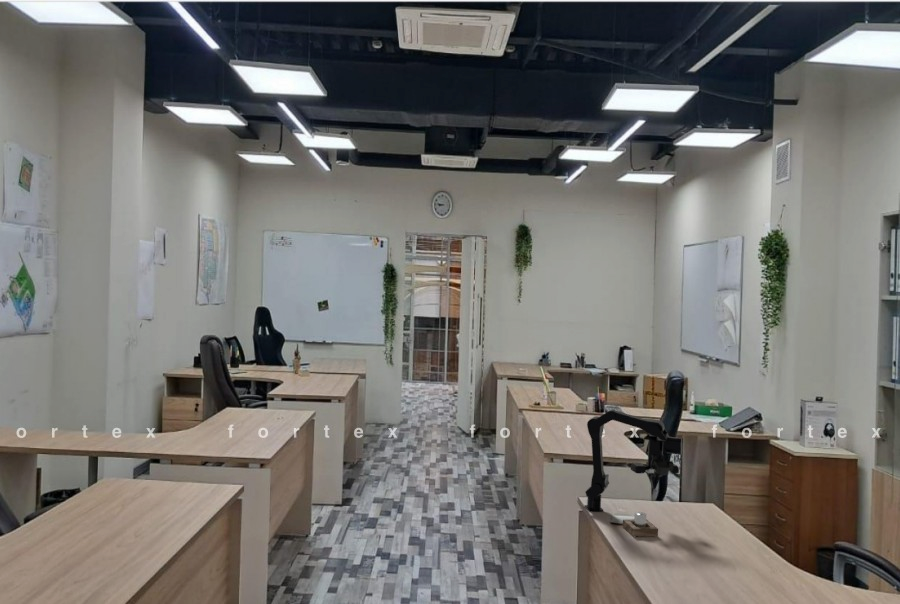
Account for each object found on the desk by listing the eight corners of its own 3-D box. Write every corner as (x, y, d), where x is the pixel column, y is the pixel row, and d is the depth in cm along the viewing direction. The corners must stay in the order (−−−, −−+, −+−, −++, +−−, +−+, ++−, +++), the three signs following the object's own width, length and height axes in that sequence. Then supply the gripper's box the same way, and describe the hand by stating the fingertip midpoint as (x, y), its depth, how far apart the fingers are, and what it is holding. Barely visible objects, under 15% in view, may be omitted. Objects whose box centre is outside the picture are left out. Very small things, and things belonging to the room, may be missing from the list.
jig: (622, 527, 252) (622, 519, 251) (646, 526, 253) (646, 519, 253) (633, 536, 242) (633, 529, 242) (657, 536, 243) (658, 528, 243)
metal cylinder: (632, 529, 249) (632, 512, 249) (642, 529, 250) (643, 512, 250) (636, 534, 245) (637, 516, 245) (647, 533, 245) (648, 516, 245)
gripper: (642, 456, 251) (640, 495, 251) (686, 456, 253) (684, 495, 254) (630, 449, 262) (629, 486, 262) (673, 449, 264) (671, 486, 265)
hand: (653, 488), depth 260 cm, fingers closed
